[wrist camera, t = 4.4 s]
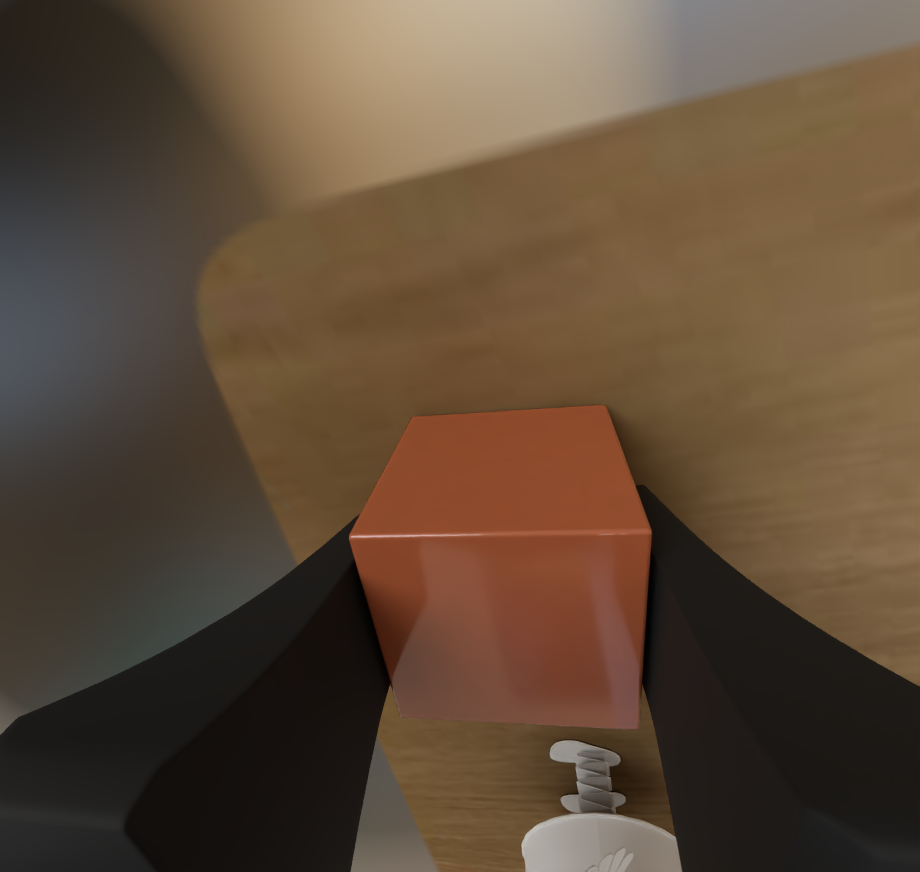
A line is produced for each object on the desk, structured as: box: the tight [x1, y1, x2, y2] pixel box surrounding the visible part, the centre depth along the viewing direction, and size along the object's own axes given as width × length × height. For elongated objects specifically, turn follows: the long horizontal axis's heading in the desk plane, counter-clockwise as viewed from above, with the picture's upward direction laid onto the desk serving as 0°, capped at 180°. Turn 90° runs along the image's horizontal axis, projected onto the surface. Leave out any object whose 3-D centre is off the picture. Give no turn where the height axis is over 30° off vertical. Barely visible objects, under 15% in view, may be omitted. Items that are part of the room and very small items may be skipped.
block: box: [349, 405, 652, 730], centre depth 10 cm, size 4×4×4 cm
